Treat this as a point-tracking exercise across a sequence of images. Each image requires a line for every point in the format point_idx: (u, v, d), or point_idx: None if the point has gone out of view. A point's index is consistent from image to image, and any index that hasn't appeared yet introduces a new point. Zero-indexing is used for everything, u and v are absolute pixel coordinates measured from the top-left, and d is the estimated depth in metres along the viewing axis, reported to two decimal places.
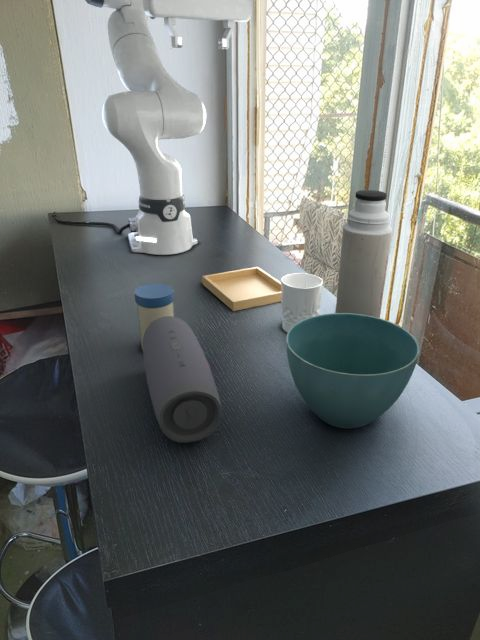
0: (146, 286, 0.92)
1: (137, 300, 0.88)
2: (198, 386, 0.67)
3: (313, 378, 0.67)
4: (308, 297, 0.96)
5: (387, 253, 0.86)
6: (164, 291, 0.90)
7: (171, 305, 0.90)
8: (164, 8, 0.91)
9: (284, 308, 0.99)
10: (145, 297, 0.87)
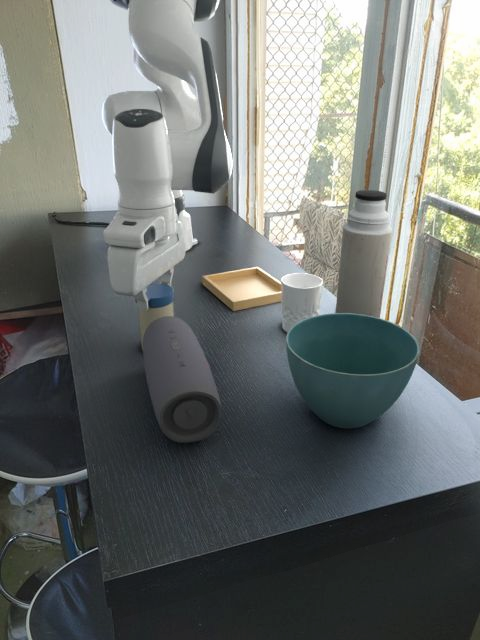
0: None
1: None
2: (198, 386, 0.67)
3: (313, 378, 0.67)
4: (308, 297, 0.96)
5: (387, 253, 0.86)
6: (164, 291, 0.90)
7: (171, 305, 0.90)
8: (141, 285, 0.81)
9: (284, 308, 0.99)
10: None
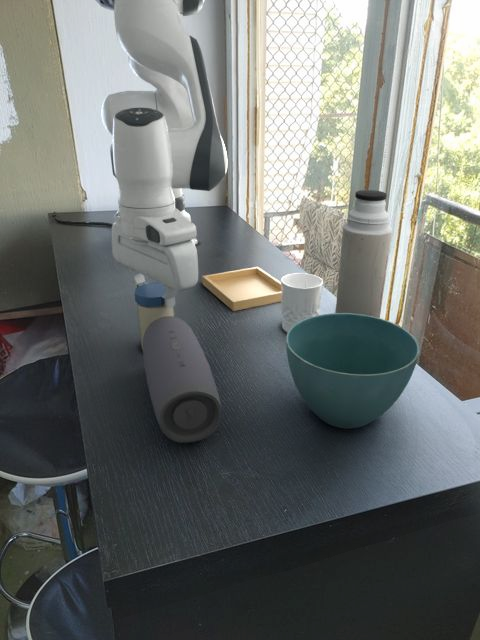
0: (139, 290, 0.89)
1: (155, 302, 0.87)
2: (198, 386, 0.67)
3: (313, 378, 0.67)
4: (308, 297, 0.96)
5: (387, 253, 0.86)
6: (161, 286, 0.91)
7: None
8: None
9: (284, 308, 0.99)
10: (164, 295, 0.88)
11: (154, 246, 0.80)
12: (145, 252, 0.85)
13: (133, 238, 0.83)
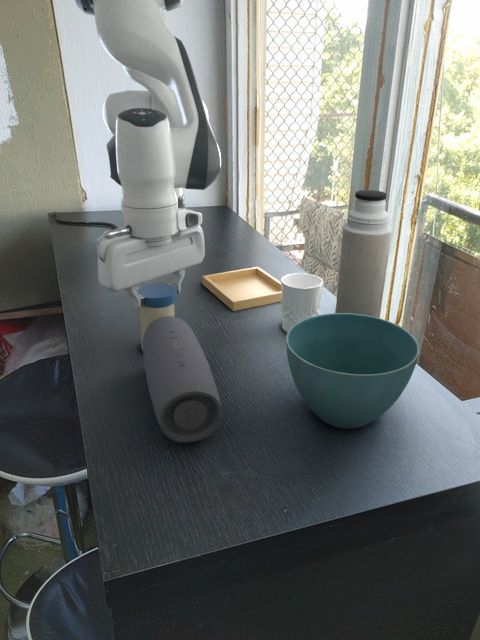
0: (159, 296, 0.88)
1: None
2: (198, 386, 0.67)
3: (313, 378, 0.67)
4: (308, 297, 0.96)
5: (387, 253, 0.86)
6: (148, 288, 0.91)
7: (173, 305, 0.90)
8: None
9: (284, 308, 0.99)
10: (170, 285, 0.92)
11: (187, 232, 0.87)
12: (162, 251, 0.86)
13: (165, 238, 0.83)
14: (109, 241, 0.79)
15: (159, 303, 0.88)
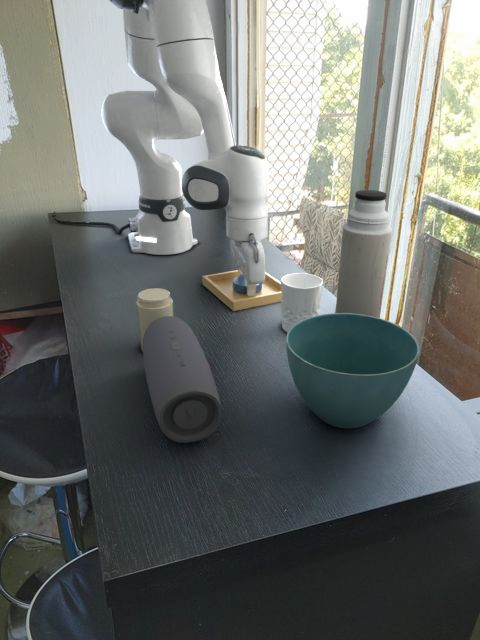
0: None
1: None
2: (198, 386, 0.67)
3: (313, 378, 0.67)
4: (308, 297, 0.96)
5: (387, 253, 0.86)
6: (239, 281, 1.17)
7: (171, 305, 0.90)
8: (232, 253, 1.21)
9: (284, 308, 0.99)
10: None
11: None
12: None
13: None
14: None
15: (261, 287, 1.17)
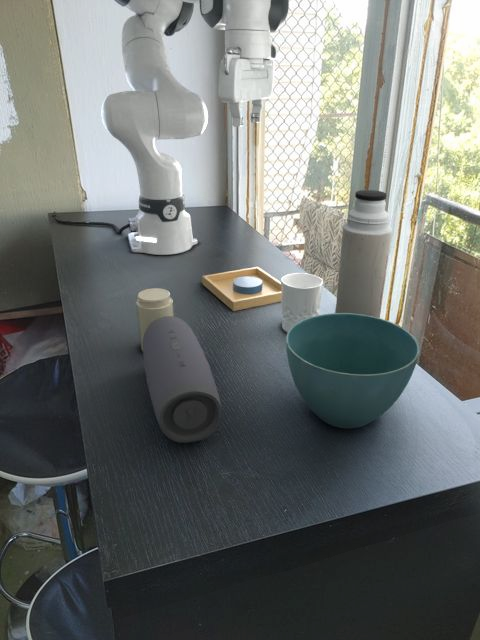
0: (258, 283, 1.17)
1: None
2: (198, 386, 0.67)
3: (313, 378, 0.67)
4: (308, 297, 0.96)
5: (387, 253, 0.86)
6: (240, 282, 1.17)
7: (171, 305, 0.90)
8: None
9: (284, 308, 0.99)
10: (245, 277, 1.20)
11: (269, 63, 1.08)
12: (255, 77, 1.05)
13: (261, 62, 1.03)
14: (231, 56, 0.97)
15: (261, 287, 1.17)
